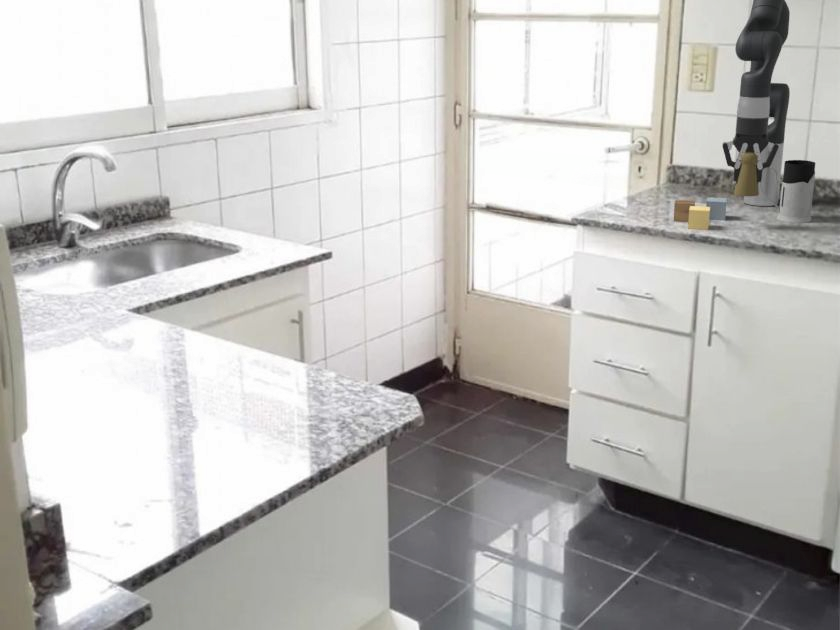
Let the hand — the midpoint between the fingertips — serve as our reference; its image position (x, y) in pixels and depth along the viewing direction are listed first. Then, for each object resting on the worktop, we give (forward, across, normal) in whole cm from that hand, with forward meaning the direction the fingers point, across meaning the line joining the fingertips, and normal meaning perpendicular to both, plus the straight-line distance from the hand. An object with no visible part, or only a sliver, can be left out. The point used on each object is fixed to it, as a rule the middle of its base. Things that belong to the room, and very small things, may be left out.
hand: (747, 183), depth 252 cm
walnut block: (+11, +15, -5) cm, 19 cm away
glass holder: (+12, -10, -12) cm, 19 cm away
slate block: (+11, +7, -9) cm, 16 cm away
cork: (+3, 0, 0) cm, 3 cm away
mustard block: (+11, +11, +3) cm, 16 cm away
